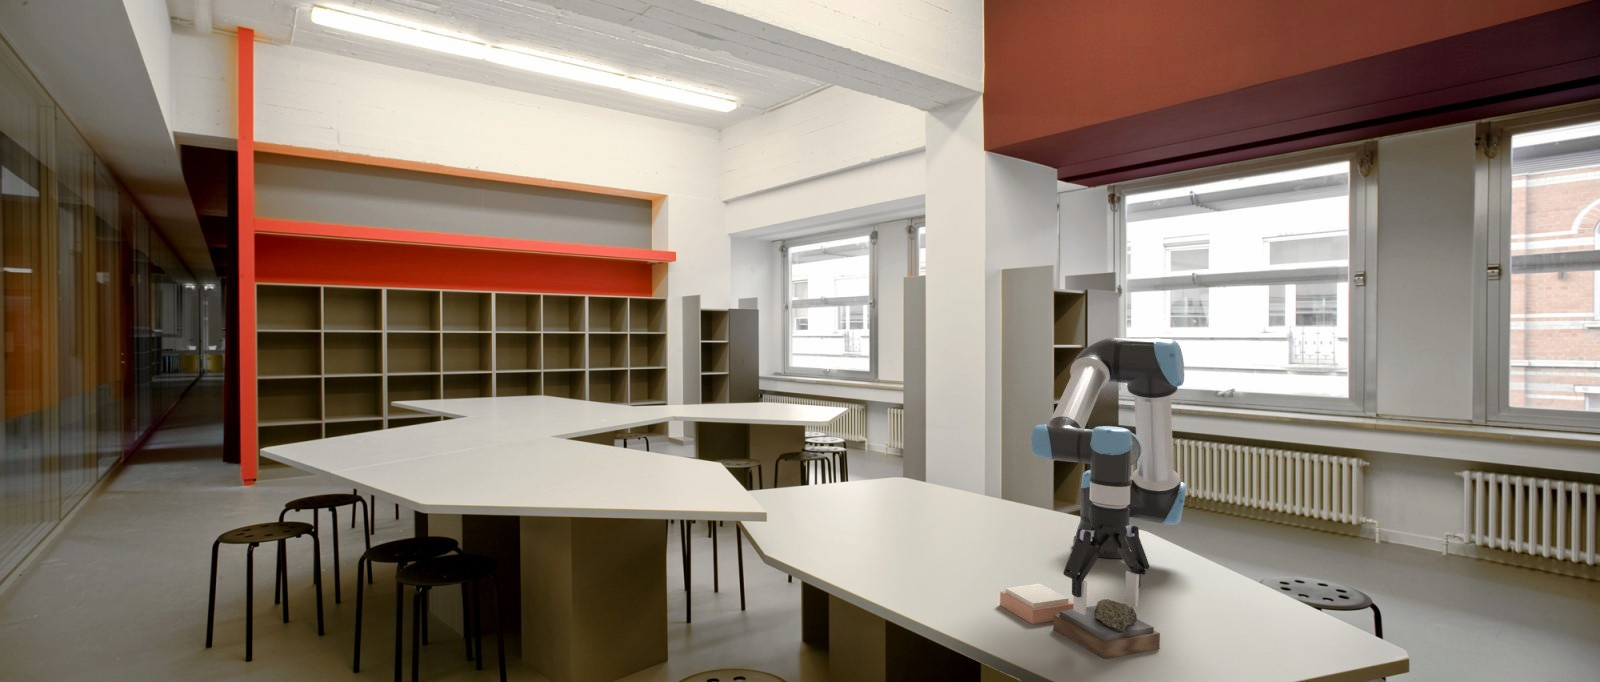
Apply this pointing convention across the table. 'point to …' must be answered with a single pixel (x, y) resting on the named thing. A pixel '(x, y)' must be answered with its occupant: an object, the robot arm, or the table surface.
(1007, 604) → the terracotta plinth
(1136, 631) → the walnut plinth
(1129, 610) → the rock
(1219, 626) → the table surface
